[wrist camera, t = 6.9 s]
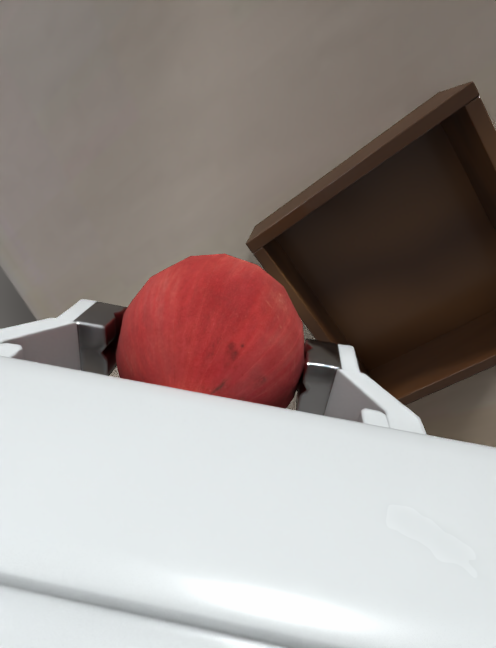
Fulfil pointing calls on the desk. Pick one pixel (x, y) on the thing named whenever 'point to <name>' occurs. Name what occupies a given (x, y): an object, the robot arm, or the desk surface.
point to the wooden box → (400, 249)
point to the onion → (214, 332)
